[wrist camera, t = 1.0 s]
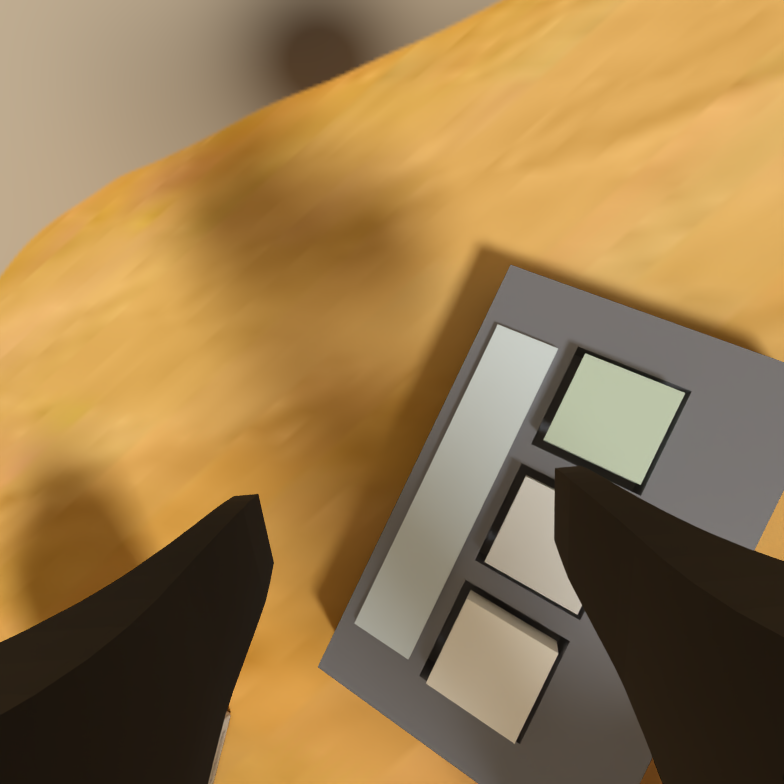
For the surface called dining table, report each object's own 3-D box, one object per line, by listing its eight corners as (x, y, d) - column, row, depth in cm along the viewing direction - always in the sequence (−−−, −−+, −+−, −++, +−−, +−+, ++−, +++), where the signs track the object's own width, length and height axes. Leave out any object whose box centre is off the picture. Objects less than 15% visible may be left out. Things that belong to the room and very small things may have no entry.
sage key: (675, 396, 21) (685, 392, 20) (633, 482, 21) (640, 484, 20) (581, 359, 22) (585, 353, 21) (542, 440, 22) (543, 439, 21)
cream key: (556, 640, 21) (558, 653, 20) (515, 725, 21) (514, 743, 20) (470, 589, 22) (467, 598, 21) (432, 669, 22) (426, 683, 21)
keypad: (797, 390, 22) (841, 380, 19) (588, 816, 22) (598, 876, 19) (512, 285, 26) (510, 262, 23) (340, 643, 26) (315, 669, 23)
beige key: (615, 519, 21) (621, 523, 20) (574, 604, 21) (577, 614, 20) (526, 474, 22) (525, 476, 21) (487, 555, 22) (484, 562, 21)
